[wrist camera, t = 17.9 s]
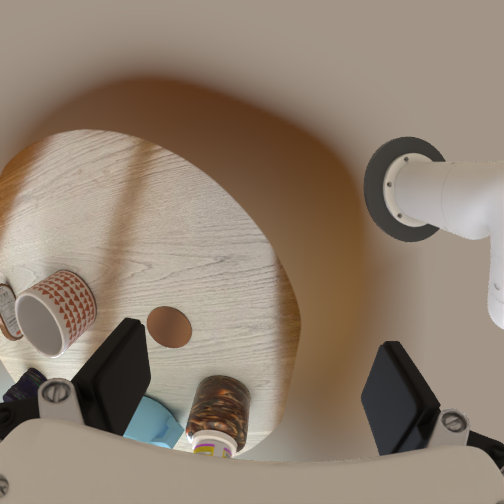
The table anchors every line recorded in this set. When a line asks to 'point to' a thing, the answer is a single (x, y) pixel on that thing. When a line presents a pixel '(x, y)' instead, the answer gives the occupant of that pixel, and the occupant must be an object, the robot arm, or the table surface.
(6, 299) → the tin
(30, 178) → the table surface
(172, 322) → the brown coaster
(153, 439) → the teapot
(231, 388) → the jar
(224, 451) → the supplement bottle
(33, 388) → the storage jar
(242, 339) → the table surface
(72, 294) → the planter
